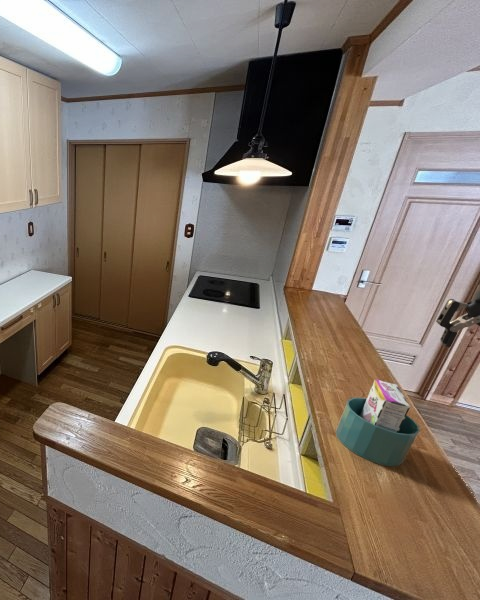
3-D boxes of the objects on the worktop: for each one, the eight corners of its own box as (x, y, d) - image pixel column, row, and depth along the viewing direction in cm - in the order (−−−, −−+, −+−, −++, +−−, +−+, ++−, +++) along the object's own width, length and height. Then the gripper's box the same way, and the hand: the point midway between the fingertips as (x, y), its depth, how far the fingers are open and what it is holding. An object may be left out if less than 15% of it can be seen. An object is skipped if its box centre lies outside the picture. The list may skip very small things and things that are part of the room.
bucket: (388, 435, 92) (402, 406, 88) (415, 474, 79) (433, 442, 76) (328, 420, 97) (339, 392, 93) (345, 454, 84) (358, 423, 81)
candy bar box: (353, 426, 94) (374, 378, 88) (375, 433, 91) (398, 384, 86) (361, 451, 84) (385, 399, 79) (386, 459, 82) (412, 406, 77)
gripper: (469, 277, 65) (434, 348, 71) (581, 292, 58) (533, 370, 64) (454, 270, 71) (423, 336, 77) (554, 283, 64) (512, 355, 70)
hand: (473, 351), depth 70 cm, fingers open, 8 cm apart
